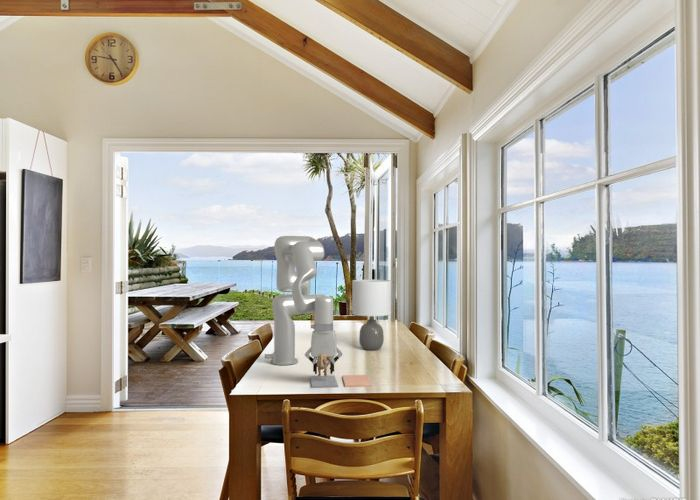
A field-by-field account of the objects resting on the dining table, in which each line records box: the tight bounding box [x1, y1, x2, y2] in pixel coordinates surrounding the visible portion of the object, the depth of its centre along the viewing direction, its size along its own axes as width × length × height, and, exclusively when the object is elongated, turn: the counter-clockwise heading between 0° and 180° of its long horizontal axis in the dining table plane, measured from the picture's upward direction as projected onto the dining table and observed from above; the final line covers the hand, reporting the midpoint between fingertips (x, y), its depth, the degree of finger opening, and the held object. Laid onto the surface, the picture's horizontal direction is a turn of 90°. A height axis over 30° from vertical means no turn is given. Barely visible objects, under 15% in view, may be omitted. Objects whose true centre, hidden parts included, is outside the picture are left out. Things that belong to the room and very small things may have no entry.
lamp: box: [351, 279, 392, 351], centre depth 267 cm, size 21×21×37 cm
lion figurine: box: [316, 354, 335, 377], centre depth 200 cm, size 15×5×9 cm, turn 169°
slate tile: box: [309, 375, 339, 389], centre depth 198 cm, size 10×16×1 cm, turn 7°
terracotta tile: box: [342, 374, 372, 388], centre depth 199 cm, size 10×16×1 cm, turn 4°
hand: (323, 372), depth 198 cm, fingers closed on lion figurine, 5 cm apart
